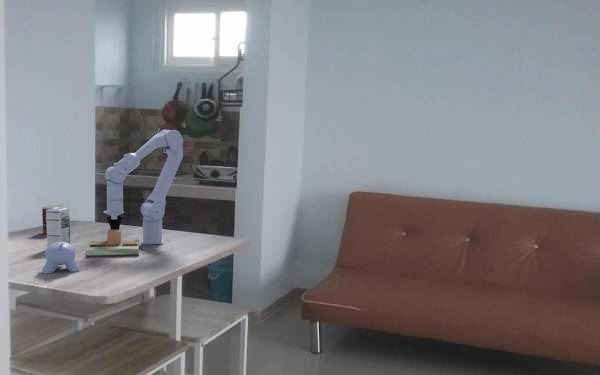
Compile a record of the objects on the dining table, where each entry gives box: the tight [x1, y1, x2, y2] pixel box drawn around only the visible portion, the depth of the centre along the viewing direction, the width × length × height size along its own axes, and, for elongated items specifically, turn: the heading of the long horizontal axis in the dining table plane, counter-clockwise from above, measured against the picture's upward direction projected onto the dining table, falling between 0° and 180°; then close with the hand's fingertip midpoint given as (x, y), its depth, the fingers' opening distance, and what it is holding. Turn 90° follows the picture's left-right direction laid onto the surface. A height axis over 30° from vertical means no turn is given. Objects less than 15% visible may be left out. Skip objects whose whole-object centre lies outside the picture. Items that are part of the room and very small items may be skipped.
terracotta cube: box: [106, 229, 122, 244], centre depth 217 cm, size 4×4×4 cm
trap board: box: [86, 239, 140, 258], centre depth 215 cm, size 16×17×2 cm
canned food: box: [41, 204, 64, 235], centre depth 246 cm, size 8×8×11 cm
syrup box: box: [46, 207, 71, 248], centre depth 217 cm, size 6×6×14 cm
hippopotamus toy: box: [41, 242, 81, 275], centre depth 188 cm, size 11×15×10 cm
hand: (115, 235), depth 223 cm, fingers closed
